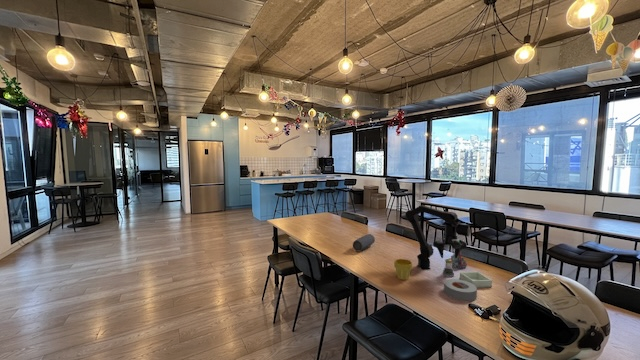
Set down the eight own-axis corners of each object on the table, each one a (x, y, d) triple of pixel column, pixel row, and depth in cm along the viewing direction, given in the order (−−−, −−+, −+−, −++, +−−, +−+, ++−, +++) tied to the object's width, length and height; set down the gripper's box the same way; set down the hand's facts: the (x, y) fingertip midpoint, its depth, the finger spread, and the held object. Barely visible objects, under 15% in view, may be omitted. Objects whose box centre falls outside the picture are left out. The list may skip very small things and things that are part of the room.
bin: (472, 288, 148) (473, 281, 148) (459, 278, 160) (459, 272, 160) (491, 287, 150) (492, 280, 149) (477, 278, 161) (477, 271, 161)
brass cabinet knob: (447, 273, 163) (447, 261, 162) (442, 270, 168) (443, 258, 167) (454, 273, 163) (455, 261, 163) (449, 269, 168) (450, 258, 168)
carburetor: (472, 266, 172) (461, 251, 173) (457, 275, 175) (446, 260, 176) (467, 260, 183) (456, 246, 184) (453, 268, 186) (442, 254, 187)
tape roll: (439, 294, 142) (439, 284, 142) (450, 284, 153) (450, 276, 152) (471, 305, 131) (471, 295, 131) (480, 294, 142) (480, 285, 141)
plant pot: (390, 275, 164) (390, 259, 163) (403, 272, 168) (404, 257, 167) (401, 282, 154) (402, 266, 154) (415, 279, 159) (416, 263, 158)
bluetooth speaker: (364, 244, 225) (365, 232, 224) (375, 246, 219) (375, 234, 218) (351, 251, 206) (352, 238, 205) (362, 254, 201) (362, 241, 200)
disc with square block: (446, 277, 162) (446, 274, 162) (440, 272, 168) (440, 269, 168) (456, 276, 163) (456, 273, 163) (450, 272, 169) (450, 269, 169)
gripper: (443, 237, 155) (442, 263, 156) (473, 236, 157) (471, 262, 158) (433, 232, 166) (432, 256, 167) (461, 231, 168) (459, 255, 169)
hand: (449, 257), depth 165 cm, fingers open, 9 cm apart
